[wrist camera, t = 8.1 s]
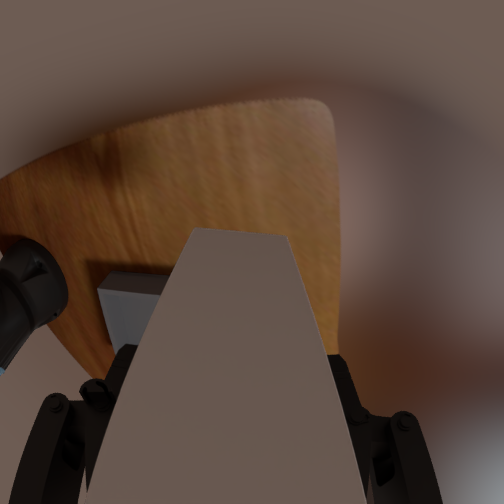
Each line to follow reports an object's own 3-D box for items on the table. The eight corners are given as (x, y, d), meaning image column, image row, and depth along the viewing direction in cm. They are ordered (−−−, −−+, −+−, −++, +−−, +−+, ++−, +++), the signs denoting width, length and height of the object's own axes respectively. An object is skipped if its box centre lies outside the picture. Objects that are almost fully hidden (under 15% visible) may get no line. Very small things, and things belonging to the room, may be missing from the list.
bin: (130, 352, 44) (121, 372, 39) (111, 270, 37) (97, 288, 32) (240, 364, 44) (239, 387, 40) (246, 280, 38) (245, 301, 33)
